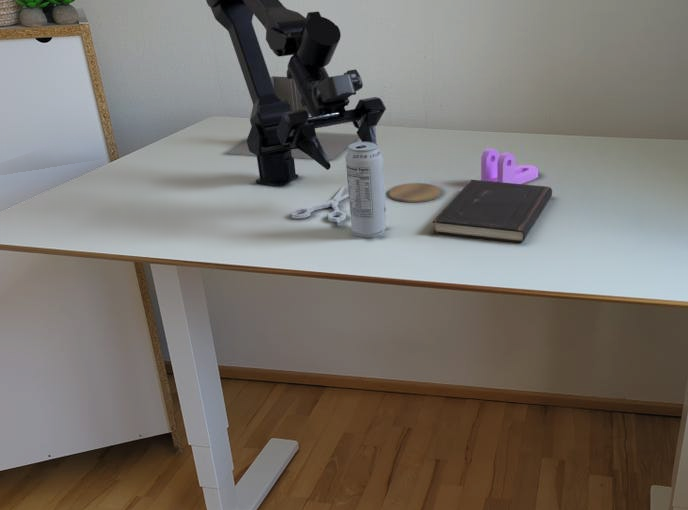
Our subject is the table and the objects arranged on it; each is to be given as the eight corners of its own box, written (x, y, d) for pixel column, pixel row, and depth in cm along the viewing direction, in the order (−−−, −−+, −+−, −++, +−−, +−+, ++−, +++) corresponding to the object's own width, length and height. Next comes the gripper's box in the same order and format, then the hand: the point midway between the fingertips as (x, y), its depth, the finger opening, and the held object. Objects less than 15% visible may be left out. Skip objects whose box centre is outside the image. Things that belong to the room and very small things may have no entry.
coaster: (380, 198, 152) (380, 196, 151) (401, 182, 160) (401, 180, 159) (428, 204, 149) (428, 202, 148) (448, 188, 157) (448, 186, 156)
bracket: (502, 191, 155) (503, 155, 151) (481, 184, 158) (481, 150, 155) (543, 175, 163) (544, 141, 160) (522, 169, 166) (523, 136, 163)
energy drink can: (394, 231, 137) (389, 145, 130) (367, 241, 134) (361, 153, 126) (371, 223, 141) (365, 138, 133) (344, 232, 137) (337, 146, 129)
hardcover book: (433, 233, 136) (432, 220, 135) (471, 190, 155) (471, 179, 154) (523, 243, 132) (524, 230, 131) (551, 198, 151) (552, 186, 150)
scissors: (284, 217, 141) (330, 181, 158) (285, 221, 142) (330, 184, 158) (340, 222, 139) (380, 185, 155) (340, 226, 139) (380, 189, 156)
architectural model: (331, 159, 173) (325, 90, 166) (225, 153, 178) (214, 86, 170) (360, 135, 190) (355, 71, 182) (262, 130, 194) (254, 67, 187)
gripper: (275, 61, 124) (316, 146, 122) (376, 47, 134) (416, 126, 132) (260, 103, 134) (298, 183, 132) (355, 88, 143) (392, 162, 141)
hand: (353, 163), depth 134 cm, fingers open, 9 cm apart
